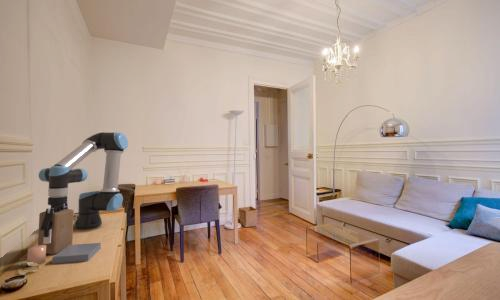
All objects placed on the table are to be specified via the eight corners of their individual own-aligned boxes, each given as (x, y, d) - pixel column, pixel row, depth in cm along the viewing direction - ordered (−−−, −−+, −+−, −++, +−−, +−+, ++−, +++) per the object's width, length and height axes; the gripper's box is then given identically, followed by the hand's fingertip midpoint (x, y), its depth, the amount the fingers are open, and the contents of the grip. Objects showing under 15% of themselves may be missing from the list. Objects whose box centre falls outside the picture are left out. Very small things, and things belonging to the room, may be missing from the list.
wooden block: (53, 255, 107) (54, 213, 108) (36, 253, 109) (38, 212, 109) (73, 247, 117) (74, 209, 117) (57, 245, 119) (59, 207, 119)
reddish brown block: (33, 260, 102) (33, 245, 102) (48, 259, 103) (49, 244, 103) (23, 267, 96) (24, 250, 96) (39, 265, 97) (40, 249, 97)
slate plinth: (69, 250, 113) (69, 244, 113) (100, 248, 116) (100, 242, 116) (52, 263, 99) (52, 257, 99) (88, 260, 102) (88, 254, 103)
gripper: (63, 192, 125) (61, 230, 124) (31, 201, 101) (29, 248, 100) (78, 192, 127) (76, 230, 126) (51, 200, 103) (48, 247, 102)
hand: (55, 238), depth 113 cm, fingers open, 13 cm apart
